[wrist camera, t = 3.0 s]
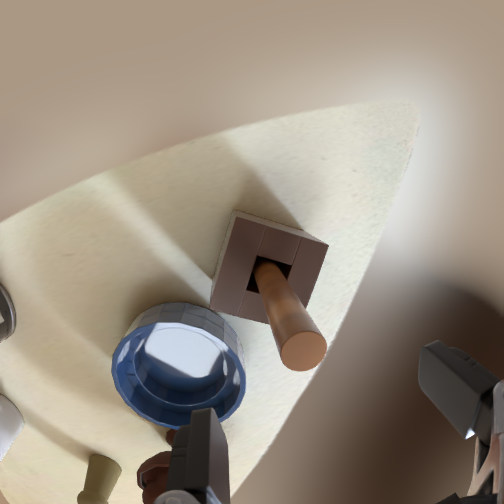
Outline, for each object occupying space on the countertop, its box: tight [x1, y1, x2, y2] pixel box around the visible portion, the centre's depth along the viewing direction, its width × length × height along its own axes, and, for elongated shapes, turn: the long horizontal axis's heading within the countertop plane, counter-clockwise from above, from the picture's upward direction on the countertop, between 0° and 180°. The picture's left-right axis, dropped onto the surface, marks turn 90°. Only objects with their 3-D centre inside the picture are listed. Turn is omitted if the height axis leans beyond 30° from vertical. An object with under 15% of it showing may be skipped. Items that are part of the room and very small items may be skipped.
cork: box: [77, 455, 122, 504], centre depth 33 cm, size 6×6×11 cm
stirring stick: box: [252, 255, 327, 371], centre depth 23 cm, size 2×2×20 cm
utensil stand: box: [209, 210, 329, 325], centre depth 29 cm, size 8×8×8 cm
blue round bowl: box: [111, 303, 246, 430], centre depth 32 cm, size 14×14×6 cm
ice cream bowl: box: [137, 429, 178, 504], centre depth 30 cm, size 11×11×15 cm
